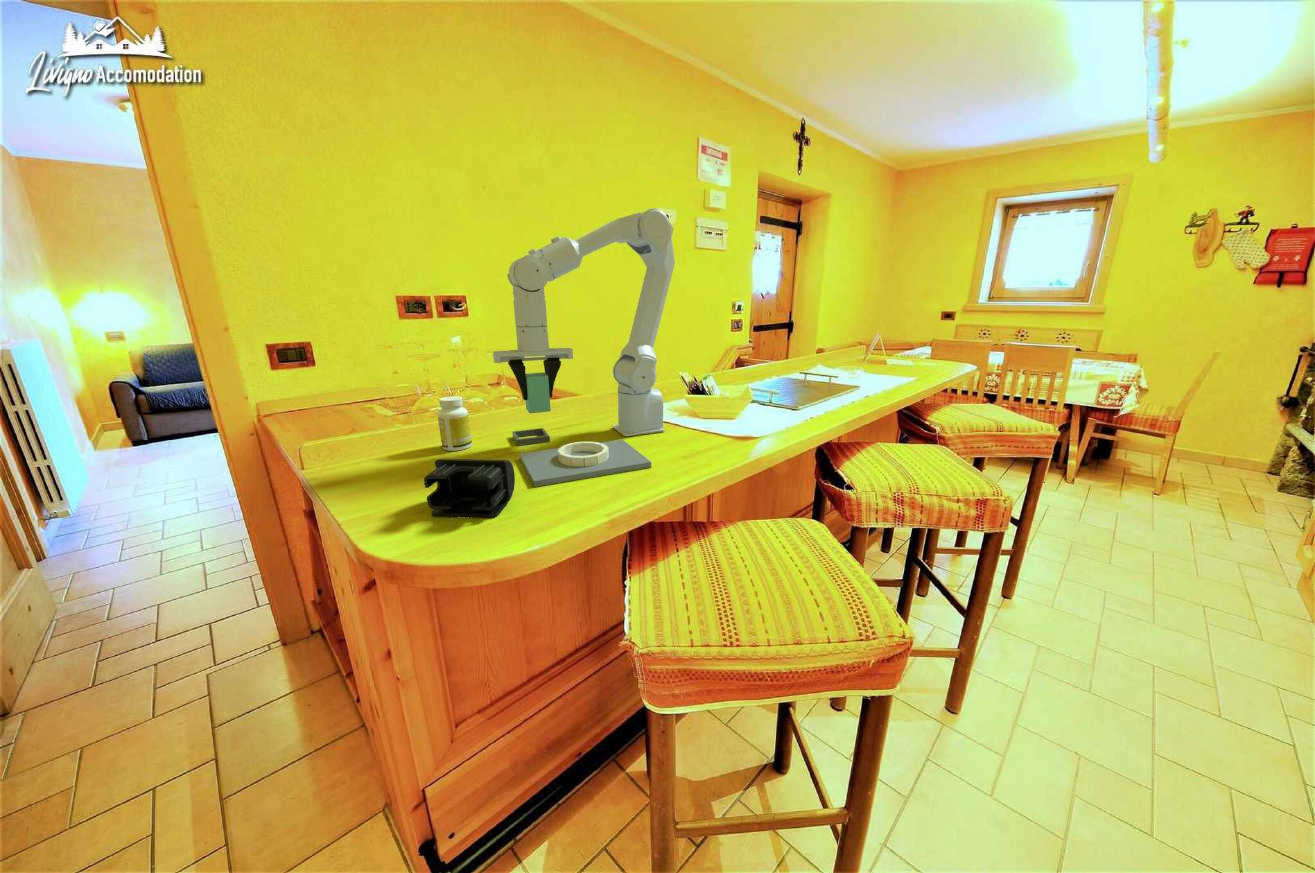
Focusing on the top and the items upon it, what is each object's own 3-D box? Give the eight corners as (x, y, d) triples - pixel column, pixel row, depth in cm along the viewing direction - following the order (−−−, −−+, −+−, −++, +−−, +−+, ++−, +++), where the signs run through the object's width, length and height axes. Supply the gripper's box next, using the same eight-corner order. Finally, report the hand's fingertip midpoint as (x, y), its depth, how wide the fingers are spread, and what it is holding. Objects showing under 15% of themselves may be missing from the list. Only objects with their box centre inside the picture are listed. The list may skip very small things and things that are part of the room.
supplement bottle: (477, 443, 91) (471, 395, 88) (463, 452, 86) (456, 401, 83) (451, 442, 92) (444, 395, 89) (436, 451, 87) (428, 401, 84)
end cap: (517, 496, 68) (513, 453, 66) (499, 519, 61) (494, 472, 59) (451, 495, 68) (445, 452, 66) (426, 517, 61) (418, 470, 59)
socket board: (622, 444, 91) (622, 431, 90) (651, 467, 79) (651, 453, 78) (519, 458, 83) (518, 445, 82) (534, 487, 71) (533, 471, 70)
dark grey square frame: (543, 433, 98) (542, 427, 98) (549, 441, 92) (549, 436, 92) (512, 437, 95) (512, 431, 95) (517, 445, 90) (517, 440, 89)
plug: (546, 406, 92) (543, 372, 90) (550, 411, 88) (548, 375, 86) (526, 408, 90) (523, 373, 88) (529, 413, 87) (526, 377, 84)
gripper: (565, 324, 91) (569, 390, 95) (488, 326, 85) (496, 397, 89) (574, 326, 85) (578, 397, 89) (492, 328, 79) (500, 404, 83)
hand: (537, 397), depth 88 cm, fingers closed on plug, 4 cm apart
